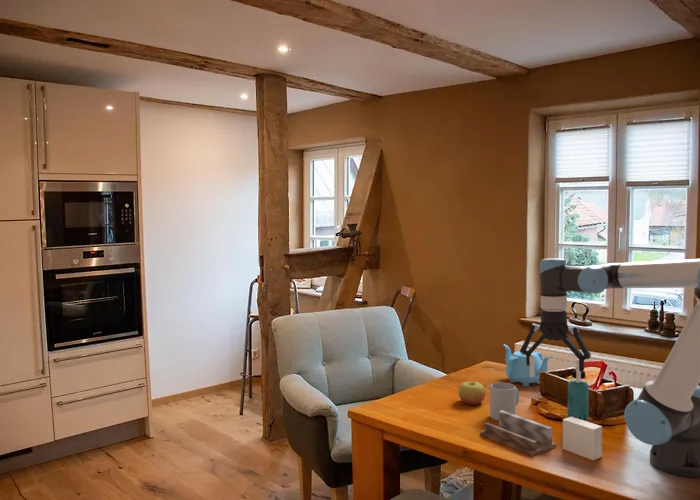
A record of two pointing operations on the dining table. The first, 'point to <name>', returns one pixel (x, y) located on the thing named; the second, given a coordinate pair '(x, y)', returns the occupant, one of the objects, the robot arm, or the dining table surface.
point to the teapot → (524, 367)
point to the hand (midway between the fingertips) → (555, 378)
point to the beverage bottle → (578, 397)
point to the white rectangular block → (582, 438)
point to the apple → (471, 392)
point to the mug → (503, 399)
